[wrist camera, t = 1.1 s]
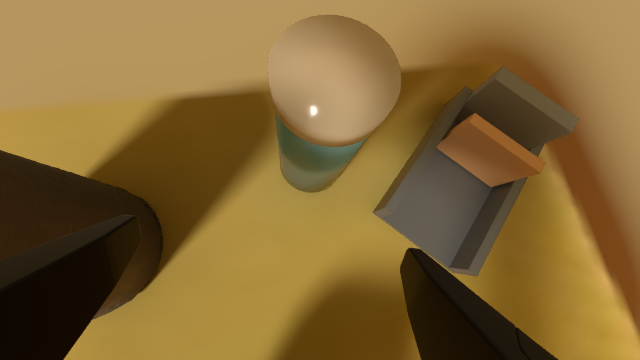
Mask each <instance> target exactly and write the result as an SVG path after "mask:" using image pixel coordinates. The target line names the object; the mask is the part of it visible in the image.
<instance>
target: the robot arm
mask: <svg viewBox="0 0 640 360" xmlns="http://www.w3.org/2000/svg"><path fill="white" fill-rule="evenodd" d="M141 240H142V234H141V228H140V222H139V218H138V217H137V216H133V215H120V216H117V217H115V218H112V219H109V220H107V221H104V222H101V223H99V224H96V225H93V226H91V227H88V228H85V229H82V230H80V231H77V232H74V233H72V234H69V235H66V236H64V237H61V238H58V239H56V240H53V241H50V242H48V243H45V244H42V245H40V246H37V247H34V248H31V249H29V250H26V251H23V252H21V253H18V254H15V255H13V256H10V257H7V258H5V259H2V260H0V360H63V359H64V358H65V357H66V355H67V354H68V352H69V351H70V350H71V348H72V347H73V346H74V344H75V343H76V341H77V340H78V339H79V337H80V336H81V334H82V333H83V332H84V330H85V329H86V327H87V326H88V325H89V323H90V322H91V320H92V319H93V318H94V316H95V315H96V313H97V312H98V311H99V309H100V308H101V306H102V305H103V304H104V302H105V301H106V299H107V298H108V297H109V295H110V294H111V292H112V291H113V290H114V288H115V287H116V285H117V283H118V282H119V280H120V278H121V277H122V275H123V273H124V271H125V270H126V268H127V266H128V264H129V263H130V261H131V259H132V257H133V256H134V254H135V252H136V250H137V249H138V247H139V245H140V243H141ZM400 273H401V279H402V284H403V290H404V295H405V301H406V306H407V311H408V315H409V319H410V323H411V326H412V330H413V333H414V336H415V340H416V343H417V347H418V350H419V353H420V357H421V360H558V359H557V358H555V357H554V356H553V355H551V354H550V353H549V352H547V351H546V350H545V349H544V348H542V347H541V346H540V345H539V344H537V343H536V342H535V341H533V340H532V339H531V338H530V337H528V336H527V335H526V334H525V333H524V332H522V331H521V330H520V329H519V328H517V327H516V328H515V325H514V324H512V323H511V322H510V321H509V320H507V319H506V318H505V317H504V316H502V315H501V314H500V313H499V312H497V311H496V310H495V309H494V308H492V307H491V306H490V305H489V304H488V303H486V302H485V301H484V300H483V299H481V298H480V297H479V296H478V295H476V294H475V293H474V292H473V291H471V290H470V289H469V288H468V287H467V286H465V285H464V284H463V283H462V282H460V281H459V280H458V279H457V278H455V277H454V276H453V275H452V274H450V273H449V272H448V271H447V270H445V269H444V268H443V267H442V266H441V265H439V264H438V263H437V262H436V261H434V260H433V259H432V258H431V257H429V256H428V255H427V254H426V253H424V252H423V251H422V250H420V249H416V248H408V249H407V251H406V253H405V255H404V258H403V261H402V263H401V267H400Z"/></svg>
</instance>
